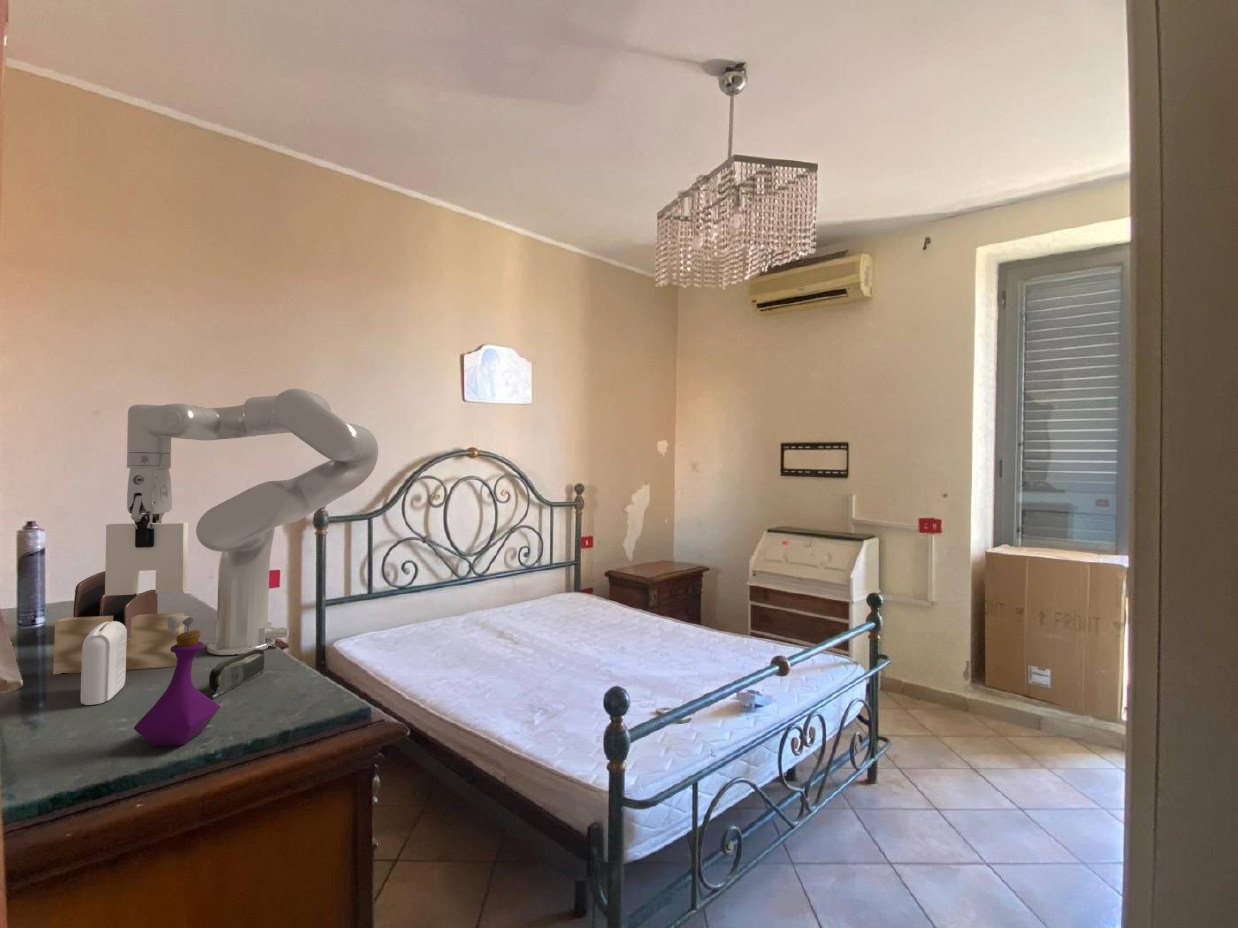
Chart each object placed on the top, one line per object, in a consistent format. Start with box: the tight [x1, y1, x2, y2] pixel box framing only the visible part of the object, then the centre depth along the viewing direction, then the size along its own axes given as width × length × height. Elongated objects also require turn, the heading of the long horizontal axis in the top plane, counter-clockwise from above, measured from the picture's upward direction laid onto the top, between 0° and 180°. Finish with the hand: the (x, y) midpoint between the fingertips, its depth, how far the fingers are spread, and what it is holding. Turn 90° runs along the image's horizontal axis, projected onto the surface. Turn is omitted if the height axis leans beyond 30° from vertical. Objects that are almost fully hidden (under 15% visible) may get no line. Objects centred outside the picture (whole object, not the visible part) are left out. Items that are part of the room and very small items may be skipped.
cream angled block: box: [105, 521, 189, 596], centre depth 129 cm, size 14×2×15 cm, turn 107°
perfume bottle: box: [133, 615, 221, 747], centre depth 86 cm, size 8×8×18 cm
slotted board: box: [52, 612, 186, 675], centre depth 116 cm, size 20×2×10 cm, turn 107°
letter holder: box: [72, 570, 159, 639], centre depth 142 cm, size 10×20×14 cm, turn 21°
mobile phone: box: [208, 649, 265, 700], centre depth 108 cm, size 5×3×15 cm
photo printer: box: [80, 621, 128, 706], centre depth 102 cm, size 10×4×12 cm, turn 26°
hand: (148, 545), depth 129 cm, fingers closed on cream angled block, 2 cm apart
